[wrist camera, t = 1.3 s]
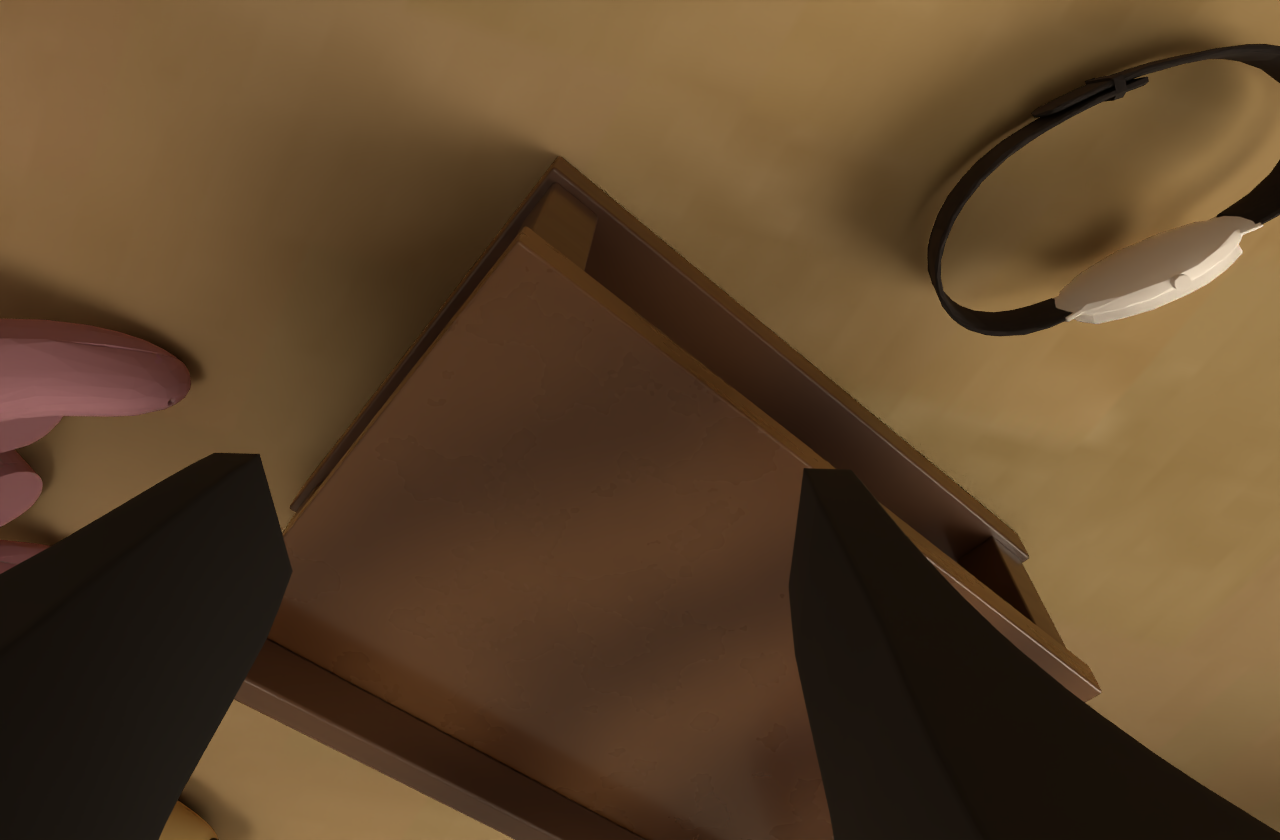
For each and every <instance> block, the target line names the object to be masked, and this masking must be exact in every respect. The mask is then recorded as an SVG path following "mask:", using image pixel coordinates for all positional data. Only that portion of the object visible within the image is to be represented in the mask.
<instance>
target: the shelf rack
mask: <svg viewBox="0 0 1280 840" xmlns="http://www.w3.org/2000/svg"><path fill="white" fill-rule="evenodd" d="M804 468H816V469H851V470H852V471H853V472H854V473H855V474H856V476H857V477H858V478H859V479H860V480H861V481H862V483H863V484H864V485H865V486H866V487H867V489H868V490H869V491H870V492H871V493H872V495H873V496H874V497H875V498H876V500H877V501H878V502H879V503H880V504H881V506H882V507H883V508H884V509H885V510H886V512H887V513H888V514H889V515H890V516H891V518H892V519H893V520H894V521H895V522H896V523H897V525H898V526H899V527H900V528H901V529H902V531H903V532H904V533H905V534H906V535H907V536H908V538H909V539H910V540H911V541H912V542H913V543H914V544H915V546H916V547H917V548H918V549H919V550H920V551H921V552H922V553H923V554H924V556H925V557H926V558H927V559H928V560H929V561H930V562H931V563H932V564H933V565H934V566H935V567H936V569H937V570H938V571H939V572H940V573H941V574H942V575H943V576H944V577H945V578H946V579H947V581H948V582H949V583H950V584H951V585H952V586H953V587H954V588H955V589H956V590H957V591H958V592H959V593H960V594H961V595H962V596H963V597H964V598H965V599H966V600H967V601H968V602H969V603H970V604H971V605H972V606H973V607H974V608H975V609H976V610H977V611H978V612H979V613H980V614H981V615H982V616H984V617H985V618H986V619H987V620H988V621H989V622H990V623H991V624H992V625H993V626H994V627H995V628H996V629H997V630H998V631H999V632H1000V633H1001V634H1003V635H1004V636H1005V637H1006V638H1007V639H1008V640H1009V641H1010V642H1012V643H1013V644H1014V645H1015V646H1016V647H1017V648H1018V649H1019V650H1021V651H1022V652H1023V653H1024V654H1025V655H1027V656H1028V657H1029V658H1030V659H1031V660H1033V661H1034V662H1035V663H1036V664H1037V665H1039V666H1040V667H1041V668H1042V669H1043V670H1045V671H1046V672H1047V673H1048V674H1049V675H1051V676H1052V677H1053V678H1054V679H1056V680H1057V681H1058V682H1059V683H1060V684H1062V685H1063V686H1064V687H1065V688H1066V689H1068V690H1069V691H1070V692H1071V693H1073V694H1074V695H1075V696H1077V697H1078V698H1079V699H1081V700H1082V701H1083V702H1087V701H1089V700H1090V699H1092V698H1094V697H1096V696H1097V695H1099V694H1101V693H1102V691H1101V689H1100V687H1099V685H1098V683H1097V681H1096V679H1095V677H1094V675H1093V674H1092V672H1091V670H1090V668H1089V666H1088V665H1087V664H1085V663H1084V662H1083V661H1081V660H1080V659H1079V658H1078V657H1076V656H1075V655H1074V654H1072V653H1071V652H1070V651H1069V650H1067V649H1066V647H1065V645H1064V643H1063V641H1062V639H1061V637H1060V635H1059V633H1058V631H1057V630H1056V628H1055V626H1054V624H1053V622H1052V620H1051V618H1050V616H1049V614H1048V612H1047V610H1046V608H1045V606H1044V605H1043V603H1042V601H1041V599H1040V597H1039V595H1038V593H1037V591H1036V589H1035V587H1034V585H1033V583H1032V581H1031V580H1030V578H1029V576H1028V574H1027V572H1026V570H1025V568H1024V566H1023V564H1022V563H1023V562H1024V561H1026V560H1027V559H1028V558H1029V555H1028V553H1027V551H1026V549H1025V547H1024V546H1023V544H1022V542H1021V540H1020V538H1019V536H1018V535H1017V534H1016V533H1015V532H1014V531H1013V530H1011V529H1010V528H1009V527H1008V526H1007V525H1005V524H1004V523H1003V522H1002V521H1001V520H999V519H998V518H997V517H996V516H995V515H993V514H992V513H991V512H990V511H988V510H987V509H986V508H985V507H984V506H982V505H981V504H980V503H979V502H978V501H976V500H975V499H974V498H973V497H972V496H970V495H969V494H968V493H967V492H966V491H964V490H963V489H962V488H961V487H959V486H958V485H957V484H956V483H955V482H953V481H952V480H951V479H950V478H949V477H947V476H946V475H945V474H944V473H943V472H941V471H940V470H939V469H938V468H937V467H935V466H934V465H933V464H932V463H930V462H929V461H928V460H927V459H926V458H924V457H923V456H922V455H921V454H920V453H918V452H917V451H916V450H915V449H914V448H912V447H911V446H910V445H909V444H908V443H906V442H905V441H904V440H903V439H901V438H900V437H899V436H898V435H897V434H895V433H894V432H893V431H892V430H891V429H889V428H888V427H887V426H886V425H885V424H883V423H882V422H881V421H880V420H879V419H877V418H876V417H875V416H874V415H873V414H871V413H870V412H869V411H868V410H866V409H865V408H864V407H863V406H862V405H860V404H859V403H858V402H857V401H856V400H854V399H853V398H852V397H851V396H850V395H848V394H847V393H846V392H845V391H844V390H842V389H841V388H840V387H839V386H837V385H836V384H835V383H834V382H833V381H831V380H830V379H829V378H828V377H827V376H825V375H824V374H823V373H822V372H821V371H819V370H818V369H817V368H816V367H815V366H813V365H812V364H811V363H810V362H808V361H807V360H806V359H805V358H804V357H802V356H801V355H800V354H799V353H798V352H796V351H795V350H794V349H793V348H792V347H790V346H789V345H788V344H787V343H786V342H784V341H783V340H782V339H781V338H780V337H778V336H777V335H776V334H775V333H773V332H772V331H771V330H770V329H769V328H767V327H766V326H765V325H764V324H763V323H761V322H760V321H759V320H758V319H757V318H755V317H754V316H753V315H752V314H751V313H749V312H748V311H747V310H746V309H744V308H743V307H742V306H741V305H740V304H738V303H737V302H736V301H735V300H734V299H732V298H731V297H730V296H729V295H728V294H726V293H725V292H724V291H723V290H722V289H720V288H719V287H718V286H717V285H715V284H714V283H713V282H712V281H711V280H709V279H708V278H707V277H706V276H705V275H703V274H702V273H701V272H700V271H699V270H697V269H696V268H695V267H694V266H693V265H691V264H690V263H689V262H688V261H686V260H685V259H684V258H683V257H682V256H680V255H679V254H678V253H677V252H676V251H674V250H673V249H672V248H671V247H670V246H668V245H667V244H666V243H665V242H664V241H662V240H661V239H660V238H659V237H658V236H656V235H655V234H654V233H653V232H651V231H650V230H649V229H648V228H647V227H645V226H644V225H643V224H642V223H641V222H639V221H638V220H637V219H636V218H635V217H633V216H632V215H631V214H630V213H629V212H627V211H626V210H625V209H624V208H622V207H621V206H620V205H619V204H618V203H616V202H615V201H614V200H613V199H612V198H610V197H609V196H608V195H607V194H606V193H604V192H603V191H602V190H601V189H600V188H598V187H597V186H596V185H595V184H593V183H592V182H591V181H590V180H589V179H587V178H586V177H585V176H584V175H583V174H581V173H580V172H579V171H578V170H577V169H575V168H574V167H573V166H572V165H571V164H569V163H568V162H567V161H566V160H564V159H563V158H562V157H560V156H559V157H557V158H556V160H555V161H554V162H553V163H552V165H551V166H550V167H549V169H548V170H547V171H546V172H545V174H544V175H543V176H542V178H541V179H540V180H539V182H538V183H537V184H536V185H535V187H534V188H533V189H532V191H531V192H530V193H529V194H528V196H527V197H526V198H525V200H524V201H523V202H522V204H521V205H520V206H519V207H518V209H517V210H516V211H515V213H514V214H513V215H512V216H511V218H510V219H509V220H508V222H507V223H506V224H505V225H504V227H503V228H502V229H501V231H500V232H499V233H498V235H497V236H496V237H495V238H494V240H493V241H492V242H491V244H490V245H489V246H488V247H487V249H486V250H485V251H484V253H483V254H482V255H481V257H480V258H479V259H478V260H477V262H476V263H475V264H474V266H473V267H472V268H471V269H470V271H469V272H468V273H467V275H466V276H465V277H464V279H463V280H462V281H461V282H460V284H459V285H458V286H457V288H456V289H455V290H454V291H453V293H452V294H451V295H450V297H449V298H448V299H447V300H446V302H445V303H444V304H443V306H442V307H441V308H440V310H439V311H438V312H437V313H436V315H435V316H434V317H433V319H432V320H431V321H430V322H429V324H428V325H427V326H426V328H425V329H424V330H423V332H422V333H421V334H420V335H419V337H418V338H417V339H416V341H415V342H414V343H413V344H412V346H411V347H410V348H409V350H408V351H407V352H406V354H405V355H404V356H403V357H402V359H401V360H400V361H399V363H398V364H397V365H396V366H395V368H394V369H393V370H392V372H391V373H390V374H389V376H388V377H387V378H386V379H385V381H384V382H383V383H382V385H381V386H380V387H379V388H378V390H377V391H376V392H375V394H374V395H373V396H372V397H371V399H370V400H369V401H368V403H367V404H366V405H365V407H364V408H363V409H362V410H361V412H360V413H359V414H358V416H357V417H356V418H355V419H354V421H353V422H352V423H351V425H350V426H349V427H348V429H347V430H346V431H345V432H344V434H343V435H342V436H341V438H340V439H339V440H338V441H337V443H336V444H335V445H334V447H333V448H332V449H331V451H330V452H329V453H328V454H327V456H326V457H325V458H324V460H323V461H322V462H321V463H320V465H319V466H318V467H317V469H316V470H315V471H314V472H313V474H312V475H311V476H310V478H309V479H308V480H307V482H306V483H305V484H304V485H303V487H302V488H301V490H300V491H299V493H298V494H297V496H296V497H295V499H294V501H293V502H292V504H291V505H290V509H291V510H293V511H295V512H296V513H295V514H294V516H293V518H292V519H291V521H290V522H289V524H288V525H287V527H286V529H285V530H284V532H283V533H282V535H283V539H284V542H285V546H286V549H287V553H288V556H289V560H290V563H291V567H292V574H291V577H290V580H289V583H288V585H287V588H286V591H285V594H284V596H283V599H282V602H281V605H280V607H279V610H278V612H277V615H276V617H275V620H274V622H273V625H272V627H271V630H270V632H269V635H268V637H267V639H266V641H265V643H264V645H263V647H262V649H261V650H260V652H259V654H258V656H257V658H256V660H255V661H254V663H253V665H252V667H251V669H250V671H249V672H248V674H247V676H246V678H245V680H244V682H243V683H242V685H241V687H240V689H239V691H238V692H237V694H236V696H235V698H234V699H235V700H237V701H239V702H241V703H243V704H245V705H247V706H249V707H251V708H253V709H255V710H257V711H259V712H261V713H263V714H265V715H267V716H269V717H271V718H273V719H275V720H277V721H279V722H281V723H283V724H285V725H287V726H289V727H291V728H293V729H295V730H297V731H299V732H301V733H303V734H305V735H307V736H309V737H311V738H313V739H315V740H317V741H319V742H321V743H323V744H325V745H327V746H329V747H331V748H333V749H335V750H337V751H339V752H341V753H343V754H345V755H347V756H349V757H351V758H353V759H355V760H357V761H359V762H361V763H363V764H365V765H367V766H369V767H371V768H373V769H375V770H377V771H379V772H381V773H383V774H385V775H387V776H389V777H391V778H393V779H395V780H397V781H399V782H401V783H403V784H405V785H407V786H409V787H411V788H413V789H415V790H417V791H419V792H421V793H423V794H425V795H427V796H429V797H431V798H433V799H435V800H437V801H439V802H441V803H443V804H445V805H447V806H449V807H451V808H453V809H455V810H457V811H459V812H461V813H463V814H465V815H467V816H469V817H471V818H473V819H475V820H477V821H479V822H481V823H483V824H485V825H487V826H489V827H491V828H493V829H495V830H497V831H499V832H501V833H503V834H505V835H507V836H509V837H511V838H513V839H515V840H834V835H833V830H832V824H831V819H830V813H829V809H828V804H827V799H826V795H825V790H824V786H823V781H822V777H821V772H820V768H819V763H818V759H817V754H816V750H815V745H814V741H813V736H812V732H811V727H810V723H809V718H808V714H807V709H806V704H805V700H804V695H803V691H802V686H801V681H800V677H799V672H798V667H797V662H796V658H795V651H794V641H793V631H792V621H791V610H790V598H789V587H788V586H789V578H790V570H791V563H792V555H793V547H794V539H795V532H796V524H797V516H798V509H799V501H800V493H801V485H802V478H803V470H804Z"/></svg>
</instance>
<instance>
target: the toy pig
mask: <svg viewBox="0 0 1280 840" xmlns="http://www.w3.org/2000/svg"><path fill="white" fill-rule="evenodd" d="M159 840H219V839H218V837H217V835H216V833H215V832H214V830H213V829H212V828H211V827H210V825H209V824H208V823H207V822H206V821H205V820H203V819H202V818H201V817H200V816H199V815H197V814H196V813H195V812H194V811H192V810H191V809H190V808H188V807H187V806H185V805H184V804H182V803H181V802H179V801H177V803H176V804H175V806H174V808H173V810H172V812H171V814H170V816H169V818H168V820H167V822H166V824H165V827H164V829H163V831H162V833H161V836H160V838H159Z"/></svg>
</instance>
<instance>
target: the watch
mask: <svg viewBox="0 0 1280 840" xmlns="http://www.w3.org/2000/svg"><path fill="white" fill-rule="evenodd" d="M1207 59H1227V60H1234V61H1240V62H1242V63H1245V64H1248V65H1251V66H1254V67H1257V68H1260V69H1262V70H1263V71H1264V72H1266V73H1267V74H1268V75H1270V76H1271V77H1272V78H1274V79H1275V80H1276V81H1278V82H1279V83H1280V46H1275V45H1268V44H1246V45H1238V46H1230V47H1223V48H1215V49H1210V50H1206V51H1201V52H1196V53H1191V54H1184V55H1180V56H1175V57H1171V58H1167V59H1162V60H1158V61H1154V62H1150V63H1147V64H1143V65H1140V66H1137V67H1133V68H1130V69H1126V70H1123V71H1121V72H1118V73H1115V74H1112V75H1108V76H1103V77H1099V78H1096V79H1095V78H1093V79H1090V80H1087V81H1085V83H1086V85H1084V86H1082V87H1080V88H1077V89H1075V90H1073V91H1071V92H1069V93H1067V94H1065V95H1063V96H1061V97H1059V98H1057V99H1055V100H1053V101H1051V102H1048V103H1046V104H1044V105H1042V106H1040V107H1038V108H1037V109H1036V110H1034V111H1033V112H1032V113H1031V114H1032V115H1033V116H1034V117H1036V118H1038V119H1036V120H1035V121H1033V122H1031V123H1030V124H1028V125H1027V126H1025V127H1023V128H1022V129H1020V130H1019V131H1017V132H1015V133H1014V134H1012V135H1011V136H1009V137H1007V138H1006V139H1004V140H1003V141H1001V142H1000V143H999V144H997V145H996V146H995V147H994V148H993V149H991V150H990V151H989V152H988V153H987V154H985V155H984V156H983V157H982V158H980V159H979V160H978V161H977V162H976V163H975V164H974V165H973V166H972V167H971V168H970V170H969V171H968V172H967V173H966V174H965V175H964V176H963V177H962V178H961V179H960V181H959V182H958V183H957V185H956V186H955V187H954V188H953V190H952V191H951V192H950V194H949V195H948V196H947V198H946V200H945V202H944V204H943V205H942V207H941V209H940V211H939V213H938V215H937V217H936V220H935V223H934V226H933V229H932V232H931V235H930V239H929V244H928V253H927V259H928V272H929V275H930V278H931V281H932V284H933V286H934V288H935V290H936V293H937V295H938V297H939V300H940V302H941V305H942V307H943V308H944V309H945V310H946V312H947V313H948V314H949V316H950V317H951V318H952V319H953V320H955V321H956V322H957V323H958V324H960V325H961V326H963V327H965V328H966V329H968V330H970V331H974V332H977V333H981V334H984V335H991V336H1013V335H1025V334H1029V333H1033V332H1036V331H1040V330H1044V329H1047V328H1050V327H1053V326H1055V325H1057V324H1059V323H1061V322H1064V321H1066V322H1068V321H1070V320H1072V319H1075V320H1077V321H1080V322H1086V323H1093V324H1099V323H1104V322H1108V321H1113V320H1117V319H1122V318H1126V317H1130V316H1133V315H1136V314H1140V313H1143V312H1146V311H1150V310H1153V309H1156V308H1158V307H1160V306H1163V305H1165V304H1167V303H1169V302H1172V301H1174V300H1176V299H1179V298H1181V297H1183V296H1185V295H1188V294H1190V293H1192V292H1194V291H1195V290H1197V289H1199V288H1201V287H1203V286H1204V285H1206V284H1208V283H1210V282H1211V281H1212V280H1213V279H1215V278H1216V277H1217V276H1219V275H1220V274H1221V273H1223V272H1224V271H1225V270H1227V269H1228V268H1229V267H1230V266H1231V265H1232V264H1233V263H1234V262H1235V261H1236V259H1237V258H1238V257H1239V256H1240V255H1241V254H1242V252H1243V251H1242V249H1241V248H1240V246H1239V242H1240V241H1241V238H1242V235H1244V234H1246V233H1249V232H1251V231H1253V230H1256V229H1258V228H1261V227H1263V225H1262V224H1264V223H1266V222H1268V221H1270V220H1271V219H1273V218H1275V217H1277V216H1279V215H1280V160H1279V162H1278V163H1277V164H1276V166H1275V167H1274V169H1273V170H1272V172H1271V173H1270V174H1269V175H1268V176H1267V177H1266V178H1265V179H1264V180H1263V181H1262V182H1261V183H1260V184H1258V185H1257V186H1256V187H1255V188H1254V189H1253V190H1252V191H1251V192H1250V193H1249V194H1248V195H1246V196H1245V197H1243V198H1242V199H1240V200H1239V201H1238V202H1236V203H1235V204H1233V205H1232V206H1230V207H1229V208H1227V209H1226V210H1224V211H1223V212H1221V213H1220V214H1218V215H1217V216H1216V217H1214V218H1212V219H1210V220H1208V221H1202V222H1194V223H1191V224H1187V225H1184V226H1181V227H1178V228H1175V229H1171V230H1168V231H1165V232H1162V233H1159V234H1156V235H1154V236H1152V237H1149V238H1147V239H1145V240H1142V241H1140V242H1138V243H1135V244H1133V245H1131V246H1128V247H1126V248H1123V249H1121V250H1119V251H1116V252H1114V253H1113V254H1111V255H1109V256H1108V257H1106V258H1105V259H1103V260H1101V261H1100V262H1098V263H1096V264H1095V265H1093V266H1091V267H1090V268H1088V269H1086V270H1085V271H1083V272H1081V273H1080V274H1079V275H1077V276H1076V277H1075V278H1074V279H1073V280H1072V281H1071V282H1070V283H1069V284H1068V285H1067V286H1065V287H1064V288H1063V289H1062V290H1061V291H1060V294H1059V296H1057V297H1055V298H1051V299H1048V300H1045V301H1042V302H1040V303H1037V304H1034V305H1031V306H1027V307H1023V308H1019V309H1015V310H1010V311H1001V312H982V311H974V310H971V309H968V308H965V307H962V306H960V305H958V304H957V303H955V302H954V301H952V300H951V299H950V297H949V296H948V295H947V294H946V293H945V292H944V291H943V286H942V281H941V259H942V255H943V251H944V247H945V243H946V240H947V238H948V236H949V233H950V231H951V228H952V226H953V224H954V221H955V219H956V218H957V216H958V215H959V213H960V211H961V210H962V208H963V206H964V205H965V203H966V202H967V201H968V199H969V198H970V197H971V195H972V194H973V193H974V192H975V190H976V189H977V188H978V187H979V185H980V184H981V183H982V182H983V181H984V180H985V179H986V178H987V177H988V176H989V175H990V174H991V173H992V172H993V171H994V170H995V169H996V168H997V167H998V166H999V165H1000V164H1002V163H1003V162H1004V161H1005V160H1006V159H1007V158H1008V157H1010V156H1011V155H1012V154H1014V153H1015V152H1016V151H1018V150H1019V149H1021V148H1022V147H1023V146H1025V145H1026V144H1028V143H1029V142H1030V141H1032V140H1034V139H1035V138H1037V137H1038V136H1040V135H1041V134H1043V133H1044V132H1046V131H1048V130H1050V129H1051V128H1053V127H1055V126H1057V125H1058V124H1060V123H1062V122H1064V121H1065V120H1067V119H1069V118H1071V117H1072V116H1074V115H1076V114H1078V113H1080V112H1082V111H1084V110H1086V109H1088V108H1090V107H1092V106H1095V105H1097V104H1099V103H1101V102H1103V101H1112V100H1116V99H1119V98H1122V97H1123V96H1124V95H1125V93H1126V92H1128V91H1130V90H1133V89H1136V88H1138V87H1141V86H1144V85H1145V84H1146V83H1147V82H1149V81H1148V77H1143V78H1137V77H1139V76H1142V75H1145V74H1149V73H1152V72H1156V71H1160V70H1163V69H1167V68H1171V67H1174V66H1178V65H1182V64H1186V63H1191V62H1196V61H1201V60H1207ZM1134 78H1137V79H1134ZM1039 117H1040V118H1039Z"/></svg>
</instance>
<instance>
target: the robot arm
mask: <svg viewBox="0 0 1280 840" xmlns="http://www.w3.org/2000/svg"><path fill="white" fill-rule="evenodd" d="M291 574H292V567H291V563H290V560H289V556H288V553H287V549H286V546H285V542H284V539H283V535H282V532H281V528H280V525H279V521H278V518H277V514H276V510H275V507H274V503H273V500H272V496H271V493H270V489H269V486H268V482H267V479H266V475H265V472H264V468H263V465H262V461H261V457H260V454H239V453H213V454H211V455H209V456H207V457H205V458H203V459H201V460H199V461H197V462H195V463H193V464H191V465H190V466H188V467H186V468H184V469H182V470H180V471H179V472H177V473H175V474H173V475H172V476H170V477H168V478H166V479H165V480H163V481H161V482H160V483H158V484H156V485H154V486H153V487H151V488H149V489H148V490H146V491H144V492H143V493H141V494H139V495H138V496H136V497H134V498H132V499H131V500H129V501H127V502H126V503H124V504H122V505H121V506H119V507H117V508H116V509H114V510H112V511H110V512H109V513H107V514H105V515H104V516H102V517H100V518H99V519H97V520H95V521H94V522H92V523H90V524H88V525H87V526H85V527H83V528H82V529H80V530H78V531H77V532H75V533H73V534H71V535H70V536H68V537H66V538H65V539H63V540H61V541H59V542H58V543H56V544H54V545H52V546H50V547H49V548H47V549H45V550H43V551H41V552H39V553H38V554H36V555H34V556H32V557H30V558H29V559H27V560H25V561H23V562H21V563H19V564H18V565H16V566H14V567H12V568H10V569H9V570H7V571H5V572H3V573H1V574H0V840H159V838H160V836H161V833H162V831H163V829H164V827H165V824H166V822H167V820H168V818H169V816H170V814H171V812H172V810H173V808H174V806H175V804H176V803H177V801H178V799H179V797H180V795H181V793H182V791H183V789H184V787H185V785H186V783H187V782H188V780H189V778H190V776H191V774H192V773H193V771H194V769H195V767H196V766H197V764H198V762H199V760H200V758H201V757H202V755H203V753H204V751H205V749H206V748H207V746H208V744H209V742H210V741H211V739H212V737H213V735H214V733H215V732H216V730H217V728H218V726H219V725H220V723H221V721H222V719H223V717H224V716H225V714H226V712H227V710H228V708H229V707H230V705H231V703H232V701H233V700H234V698H235V696H236V694H237V692H238V691H239V689H240V687H241V685H242V683H243V682H244V680H245V678H246V676H247V674H248V672H249V671H250V669H251V667H252V665H253V663H254V661H255V660H256V658H257V656H258V654H259V652H260V650H261V649H262V647H263V645H264V643H265V641H266V639H267V637H268V635H269V632H270V630H271V627H272V625H273V622H274V620H275V617H276V615H277V612H278V610H279V607H280V605H281V602H282V599H283V596H284V594H285V591H286V588H287V585H288V583H289V580H290V577H291ZM788 587H789V598H790V610H791V621H792V631H793V641H794V651H795V658H796V662H797V667H798V672H799V677H800V681H801V686H802V691H803V695H804V700H805V704H806V709H807V714H808V718H809V723H810V727H811V732H812V736H813V741H814V745H815V750H816V754H817V759H818V763H819V768H820V772H821V777H822V781H823V786H824V790H825V795H826V799H827V804H828V809H829V813H830V819H831V824H832V830H833V835H834V840H1280V833H1279V832H1277V831H1276V830H1274V829H1272V828H1271V827H1269V826H1267V825H1266V824H1264V823H1263V822H1261V821H1259V820H1258V819H1256V818H1254V817H1253V816H1251V815H1250V814H1248V813H1246V812H1245V811H1243V810H1242V809H1240V808H1238V807H1237V806H1235V805H1234V804H1232V803H1230V802H1229V801H1227V800H1226V799H1224V798H1222V797H1221V796H1219V795H1217V794H1216V793H1214V792H1213V791H1211V790H1209V789H1208V788H1206V787H1205V786H1203V785H1201V784H1200V783H1198V782H1197V781H1195V780H1194V779H1192V778H1191V777H1189V776H1188V775H1186V774H1185V773H1183V772H1182V771H1180V770H1179V769H1177V768H1176V767H1174V766H1173V765H1171V764H1170V763H1168V762H1167V761H1165V760H1164V759H1162V758H1161V757H1159V756H1158V755H1156V754H1155V753H1153V752H1152V751H1151V750H1149V749H1148V748H1146V747H1145V746H1144V745H1142V744H1141V743H1139V742H1138V741H1137V740H1135V739H1134V738H1132V737H1131V736H1130V735H1128V734H1127V733H1125V732H1124V731H1123V730H1121V729H1120V728H1118V727H1117V726H1116V725H1114V724H1113V723H1111V722H1110V721H1109V720H1107V719H1106V718H1105V717H1103V716H1102V715H1100V714H1099V713H1098V712H1096V711H1095V710H1094V709H1092V708H1091V707H1090V706H1088V705H1087V704H1086V703H1085V702H1083V701H1082V700H1081V699H1079V698H1078V697H1077V696H1075V695H1074V694H1073V693H1071V692H1070V691H1069V690H1068V689H1066V688H1065V687H1064V686H1063V685H1062V684H1060V683H1059V682H1058V681H1057V680H1056V679H1054V678H1053V677H1052V676H1051V675H1049V674H1048V673H1047V672H1046V671H1045V670H1043V669H1042V668H1041V667H1040V666H1039V665H1037V664H1036V663H1035V662H1034V661H1033V660H1031V659H1030V658H1029V657H1028V656H1027V655H1025V654H1024V653H1023V652H1022V651H1021V650H1019V649H1018V648H1017V647H1016V646H1015V645H1014V644H1013V643H1012V642H1010V641H1009V640H1008V639H1007V638H1006V637H1005V636H1004V635H1003V634H1001V633H1000V632H999V631H998V630H997V629H996V628H995V627H994V626H993V625H992V624H991V623H990V622H989V621H988V620H987V619H986V618H985V617H984V616H982V615H981V614H980V613H979V612H978V611H977V610H976V609H975V608H974V607H973V606H972V605H971V604H970V603H969V602H968V601H967V600H966V599H965V598H964V597H963V596H962V595H961V594H960V593H959V592H958V591H957V590H956V589H955V588H954V587H953V586H952V585H951V584H950V583H949V582H948V581H947V579H946V578H945V577H944V576H943V575H942V574H941V573H940V572H939V571H938V570H937V569H936V567H935V566H934V565H933V564H932V563H931V562H930V561H929V560H928V559H927V558H926V557H925V556H924V554H923V553H922V552H921V551H920V550H919V549H918V548H917V547H916V546H915V544H914V543H913V542H912V541H911V540H910V539H909V538H908V536H907V535H906V534H905V533H904V532H903V531H902V529H901V528H900V527H899V526H898V525H897V523H896V522H895V521H894V520H893V519H892V518H891V516H890V515H889V514H888V513H887V512H886V510H885V509H884V508H883V507H882V506H881V504H880V503H879V502H878V501H877V500H876V498H875V497H874V496H873V495H872V493H871V492H870V491H869V490H868V489H867V487H866V486H865V485H864V484H863V483H862V481H861V480H860V479H859V478H858V477H857V476H856V474H855V473H854V472H853V471H852V470H851V469H816V468H804V470H803V478H802V485H801V493H800V501H799V509H798V516H797V524H796V532H795V539H794V547H793V555H792V563H791V570H790V578H789V586H788Z"/></svg>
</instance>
